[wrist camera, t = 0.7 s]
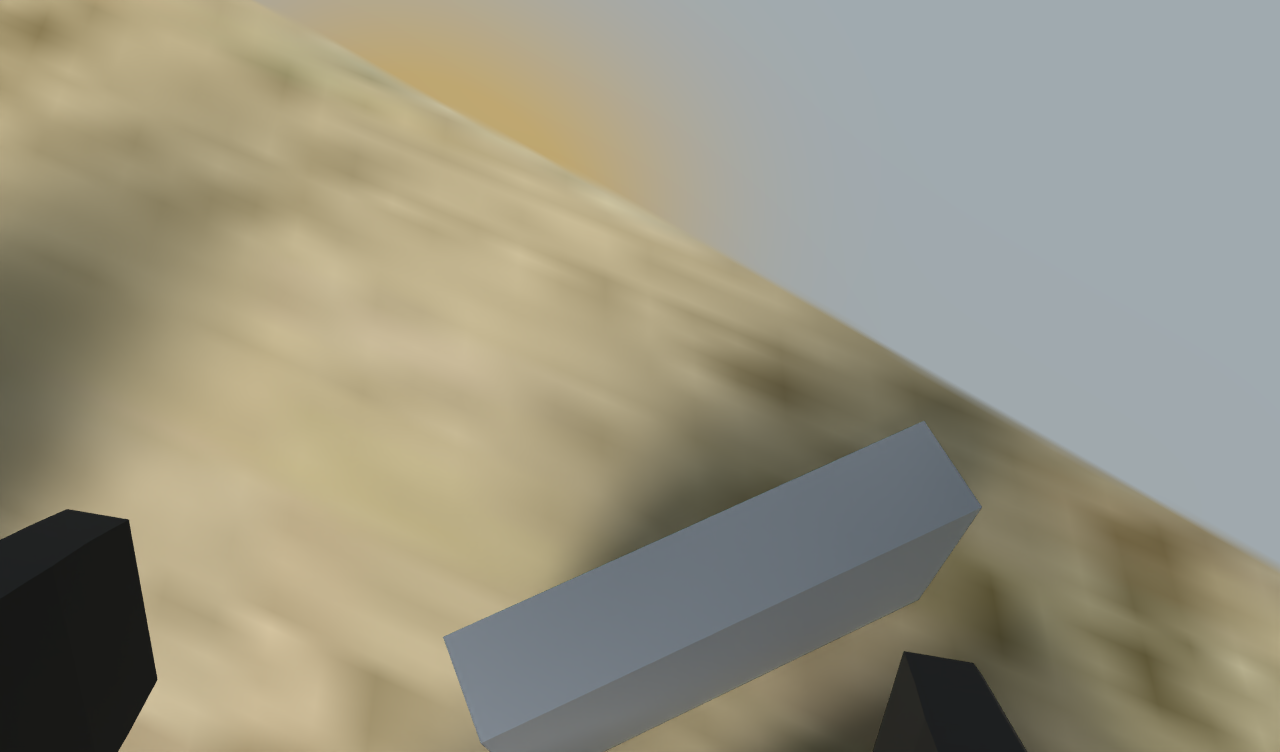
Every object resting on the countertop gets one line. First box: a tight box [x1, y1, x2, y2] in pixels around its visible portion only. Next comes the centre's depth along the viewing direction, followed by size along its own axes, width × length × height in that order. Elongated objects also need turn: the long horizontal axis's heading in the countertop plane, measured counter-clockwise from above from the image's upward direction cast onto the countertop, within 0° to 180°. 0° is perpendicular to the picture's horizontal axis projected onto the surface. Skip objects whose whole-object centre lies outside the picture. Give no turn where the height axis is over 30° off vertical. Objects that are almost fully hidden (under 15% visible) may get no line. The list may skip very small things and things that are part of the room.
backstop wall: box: [443, 421, 982, 752], centre depth 21 cm, size 2×10×6 cm, turn 114°
